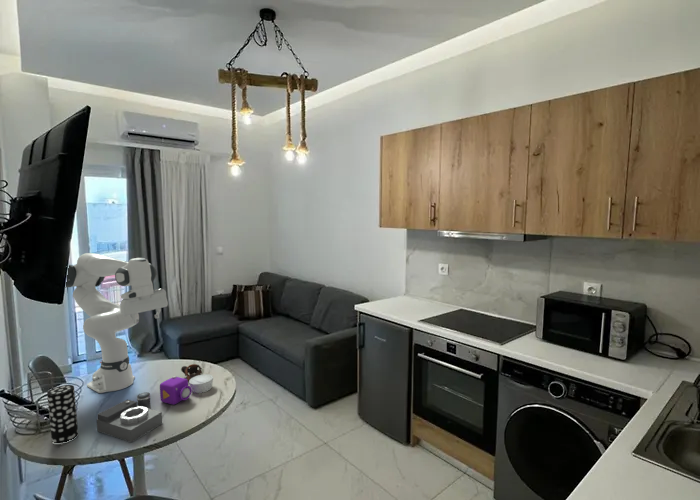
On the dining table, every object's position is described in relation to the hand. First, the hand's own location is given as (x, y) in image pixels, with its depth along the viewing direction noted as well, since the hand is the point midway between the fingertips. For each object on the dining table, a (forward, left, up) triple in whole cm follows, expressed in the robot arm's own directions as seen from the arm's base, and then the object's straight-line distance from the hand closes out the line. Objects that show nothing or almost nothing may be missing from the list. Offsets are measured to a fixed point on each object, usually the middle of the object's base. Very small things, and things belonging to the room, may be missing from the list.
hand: (147, 320), depth 177 cm
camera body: (+15, -23, -37) cm, 46 cm away
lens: (+8, -11, -37) cm, 40 cm away
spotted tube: (-2, -38, -38) cm, 53 cm away
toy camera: (+15, +1, -38) cm, 41 cm away
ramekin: (+17, +14, -38) cm, 44 cm away
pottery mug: (+2, +22, -38) cm, 44 cm away
